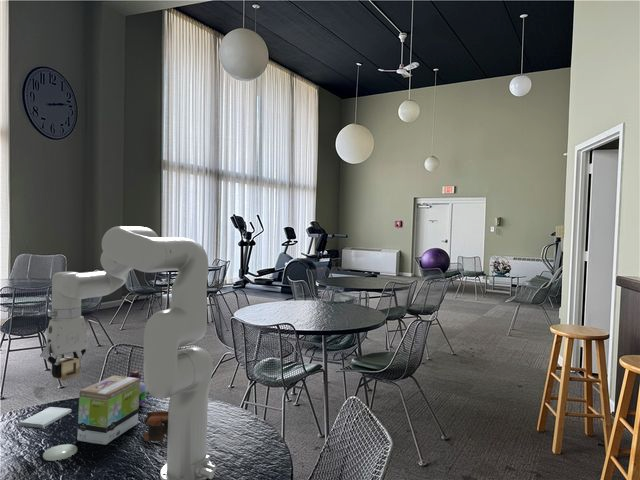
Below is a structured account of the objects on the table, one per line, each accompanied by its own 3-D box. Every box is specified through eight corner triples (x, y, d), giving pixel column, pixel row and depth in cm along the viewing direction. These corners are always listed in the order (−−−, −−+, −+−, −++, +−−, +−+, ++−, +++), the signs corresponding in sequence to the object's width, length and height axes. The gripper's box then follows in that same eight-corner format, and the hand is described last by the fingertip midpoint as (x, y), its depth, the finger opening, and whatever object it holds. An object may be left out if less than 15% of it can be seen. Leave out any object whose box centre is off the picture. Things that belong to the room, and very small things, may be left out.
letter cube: (79, 375, 133) (80, 358, 132) (63, 380, 128) (63, 362, 128) (69, 373, 135) (69, 356, 135) (52, 377, 130) (52, 360, 130)
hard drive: (42, 424, 134) (71, 408, 147) (18, 422, 136) (49, 406, 148) (42, 430, 134) (71, 413, 147) (18, 427, 136) (49, 411, 148)
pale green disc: (83, 450, 122) (83, 449, 122) (54, 463, 114) (54, 462, 114) (65, 443, 125) (65, 441, 125) (36, 455, 118) (36, 453, 118)
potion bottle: (143, 410, 149) (144, 375, 149) (116, 411, 148) (117, 375, 148) (150, 400, 158) (150, 367, 157) (124, 401, 157) (125, 367, 156)
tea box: (107, 446, 125) (108, 393, 125) (76, 441, 127) (77, 390, 126) (139, 423, 140) (140, 376, 139) (111, 419, 142) (112, 373, 141)
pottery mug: (133, 442, 128) (137, 412, 132) (155, 444, 136) (159, 415, 140) (166, 439, 124) (170, 408, 129) (188, 441, 132) (190, 412, 136)
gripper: (45, 319, 122) (44, 385, 122) (100, 310, 137) (100, 369, 137) (29, 316, 126) (29, 381, 126) (85, 308, 141) (85, 365, 141)
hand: (66, 374), depth 132 cm, fingers closed on letter cube, 5 cm apart
